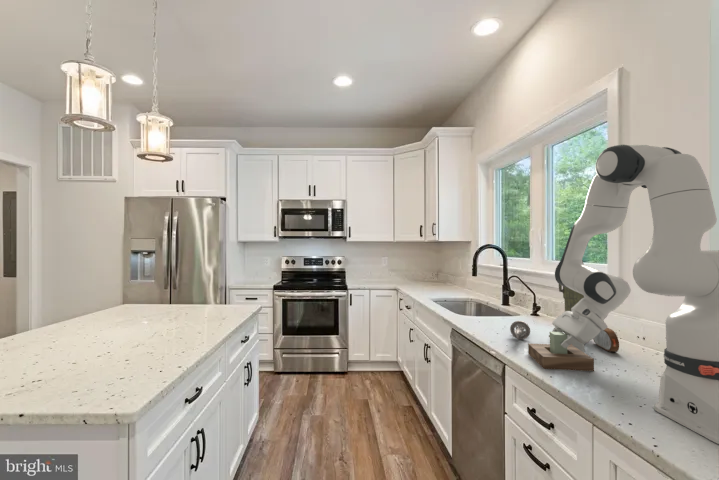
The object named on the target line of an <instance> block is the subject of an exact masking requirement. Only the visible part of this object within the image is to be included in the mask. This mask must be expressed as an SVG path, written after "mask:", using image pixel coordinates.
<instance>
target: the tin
mask: <svg viewBox="0 0 719 480" xmlns="http://www.w3.org/2000/svg"><path fill="white" fill-rule="evenodd" d="M592 340H593V342H594V343H595V345H596V346H597V347H599V348H601V349H604V350H605V351H606V352H611V353H612V352H613V353H614V352H615V353H617V352H618V351H619V349H620V341H619V338H618V335H617V333H616V332H615V331H614V330H613V329H611V328H609V327H607V328H606V329H605V330H601V331H600V333H599V334H598V335H597V336H596V337H594V338H593V339H592Z"/></svg>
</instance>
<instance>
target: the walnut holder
mask: <svg viewBox="0 0 719 480" xmlns="http://www.w3.org/2000/svg"><path fill="white" fill-rule="evenodd" d="M527 348H528V351H527V352H528V356H529V357H530V358H532V359H533V360H534V361H535V362H536V363H537V364H538V365H539V367H541V369H543V370H544V369H545V370H555V371H556V370H558V371H560V370H561V371H579V372H580V371H581V372H582V371H583V372H595V359H594V358H593V357H591V356H590V355H589V354H587V353H584V352H582V351H581V350H579V349H577V348H576V347H574V346H573V345H569V346H568V347H567V354H555V353H551V352H550V343H527Z"/></svg>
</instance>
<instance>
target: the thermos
mask: <svg viewBox="0 0 719 480" xmlns="http://www.w3.org/2000/svg"><path fill="white" fill-rule="evenodd" d="M582 262H583V264H584V265H585V263H584V261H583V260H582ZM558 291H559V293H562V298H563V299H564V312H565V311H572V310H571V308H572V307H573V306H575V305H576V304H577V303H578V302H579V301H580V300H581V299H582V298H584V295H582V294H580V293H578V292H576V291H574V290H572V289H569V288H567V287H564V286H561V285H560V284H559V283H558ZM566 335H567V334H566Z"/></svg>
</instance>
